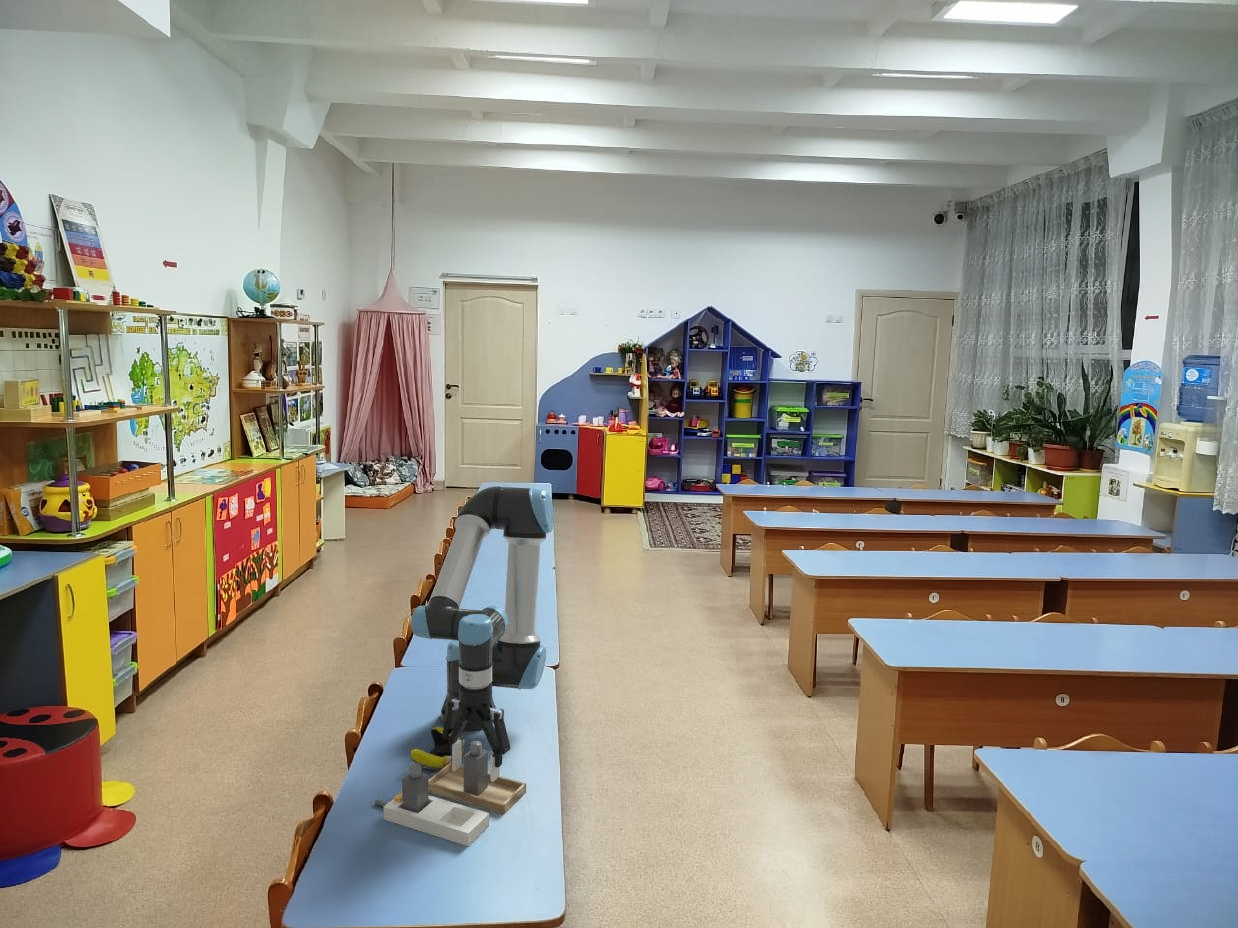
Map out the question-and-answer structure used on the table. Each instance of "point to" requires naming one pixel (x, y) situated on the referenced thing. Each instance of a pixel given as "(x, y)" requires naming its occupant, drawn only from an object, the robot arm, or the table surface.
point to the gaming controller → (435, 752)
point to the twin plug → (415, 789)
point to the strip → (439, 819)
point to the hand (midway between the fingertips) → (475, 773)
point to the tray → (492, 798)
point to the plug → (475, 769)
